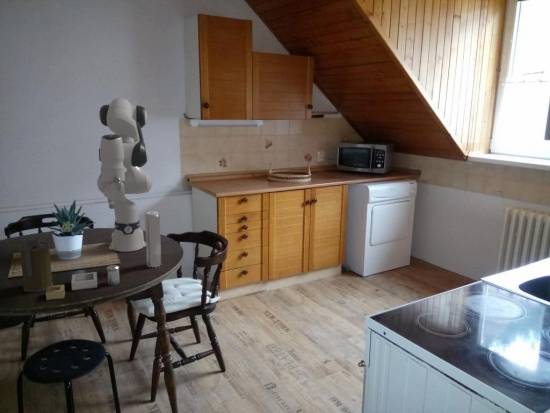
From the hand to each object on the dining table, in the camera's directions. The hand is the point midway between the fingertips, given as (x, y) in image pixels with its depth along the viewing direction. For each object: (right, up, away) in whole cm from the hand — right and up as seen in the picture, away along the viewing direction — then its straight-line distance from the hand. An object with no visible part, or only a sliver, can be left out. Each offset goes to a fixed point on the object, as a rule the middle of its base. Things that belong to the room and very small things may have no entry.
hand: (114, 210), depth 170 cm
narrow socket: (-19, -32, -9) cm, 39 cm away
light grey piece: (+9, -26, +25) cm, 37 cm away
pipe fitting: (-2, -30, +5) cm, 30 cm away
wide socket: (-13, -30, +2) cm, 33 cm away
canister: (-30, -31, -2) cm, 43 cm away
